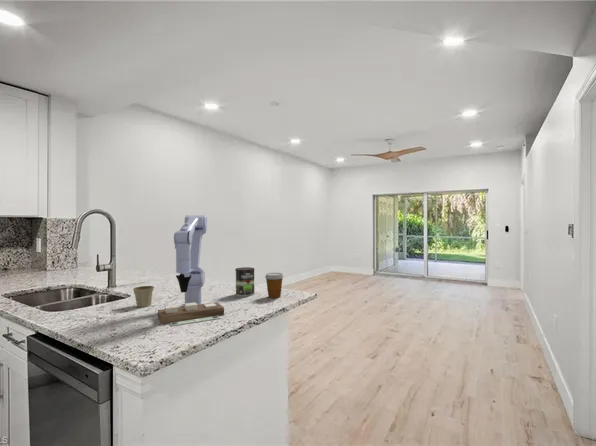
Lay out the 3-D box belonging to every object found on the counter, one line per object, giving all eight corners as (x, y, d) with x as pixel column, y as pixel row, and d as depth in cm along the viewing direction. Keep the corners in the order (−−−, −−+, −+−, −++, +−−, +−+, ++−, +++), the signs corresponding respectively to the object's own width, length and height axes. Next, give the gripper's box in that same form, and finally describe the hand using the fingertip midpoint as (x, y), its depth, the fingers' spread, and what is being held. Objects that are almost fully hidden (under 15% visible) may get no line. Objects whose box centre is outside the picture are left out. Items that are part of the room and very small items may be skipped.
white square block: (203, 312, 145) (203, 304, 145) (213, 310, 147) (213, 303, 147) (206, 314, 141) (206, 306, 141) (216, 312, 143) (216, 305, 143)
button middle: (184, 311, 141) (184, 303, 141) (195, 309, 143) (195, 302, 143) (186, 313, 137) (186, 305, 137) (197, 312, 139) (197, 304, 139)
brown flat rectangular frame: (157, 317, 139) (157, 310, 139) (217, 308, 151) (216, 302, 151) (161, 324, 129) (161, 316, 129) (224, 314, 141) (224, 307, 141)
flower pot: (128, 307, 156) (128, 288, 156) (144, 302, 165) (144, 285, 165) (143, 309, 152) (143, 290, 152) (159, 304, 161) (158, 286, 161)
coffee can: (257, 295, 178) (257, 268, 178) (238, 297, 173) (238, 270, 173) (251, 291, 187) (250, 266, 187) (233, 293, 183) (232, 268, 182)
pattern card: (169, 323, 130) (169, 322, 130) (217, 316, 139) (217, 315, 139) (171, 326, 126) (171, 325, 126) (220, 318, 136) (220, 317, 136)
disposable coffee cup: (283, 298, 169) (282, 275, 169) (264, 299, 169) (264, 275, 169) (284, 294, 178) (283, 272, 178) (266, 294, 178) (266, 272, 178)
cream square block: (164, 314, 137) (164, 306, 137) (176, 312, 139) (175, 304, 139) (166, 316, 133) (166, 308, 133) (177, 315, 135) (177, 307, 135)
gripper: (197, 260, 134) (197, 293, 134) (189, 257, 147) (189, 288, 147) (179, 261, 131) (179, 296, 131) (172, 258, 143) (173, 289, 143)
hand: (183, 292), depth 139 cm, fingers closed
